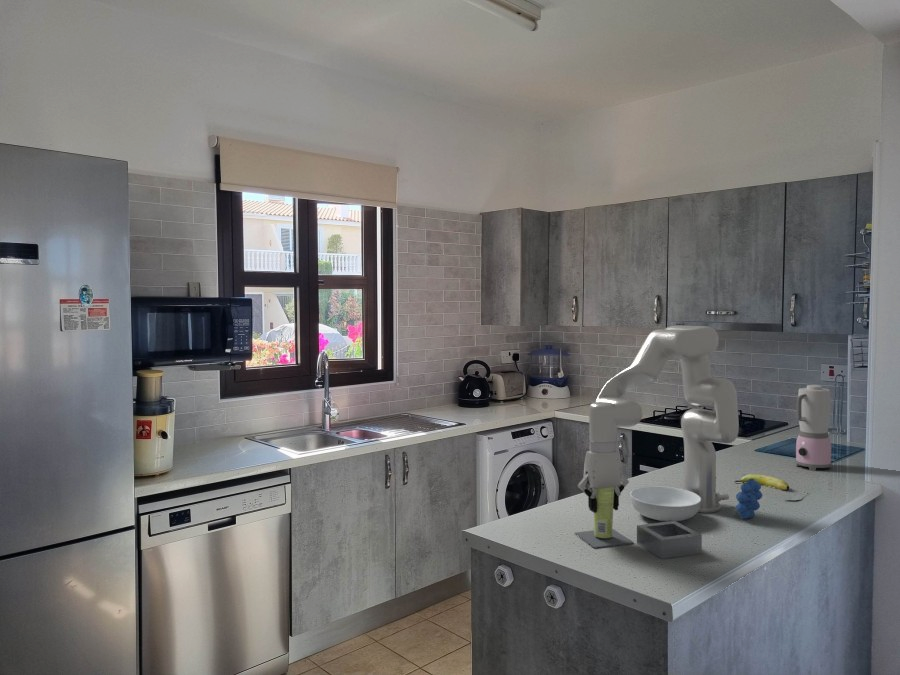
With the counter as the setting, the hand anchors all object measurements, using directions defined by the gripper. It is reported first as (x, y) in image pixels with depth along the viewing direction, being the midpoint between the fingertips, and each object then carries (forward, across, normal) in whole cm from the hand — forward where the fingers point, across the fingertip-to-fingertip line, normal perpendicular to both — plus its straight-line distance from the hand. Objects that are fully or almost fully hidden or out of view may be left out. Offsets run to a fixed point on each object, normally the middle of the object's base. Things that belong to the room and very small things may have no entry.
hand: (603, 509), depth 190 cm
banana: (+10, -79, -30) cm, 85 cm away
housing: (+8, -13, +12) cm, 19 cm away
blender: (+9, -114, -45) cm, 123 cm away
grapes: (+9, -50, -3) cm, 51 cm away
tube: (+8, 0, 0) cm, 8 cm away
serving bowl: (+9, -27, -11) cm, 30 cm away
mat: (+8, 0, 0) cm, 8 cm away
